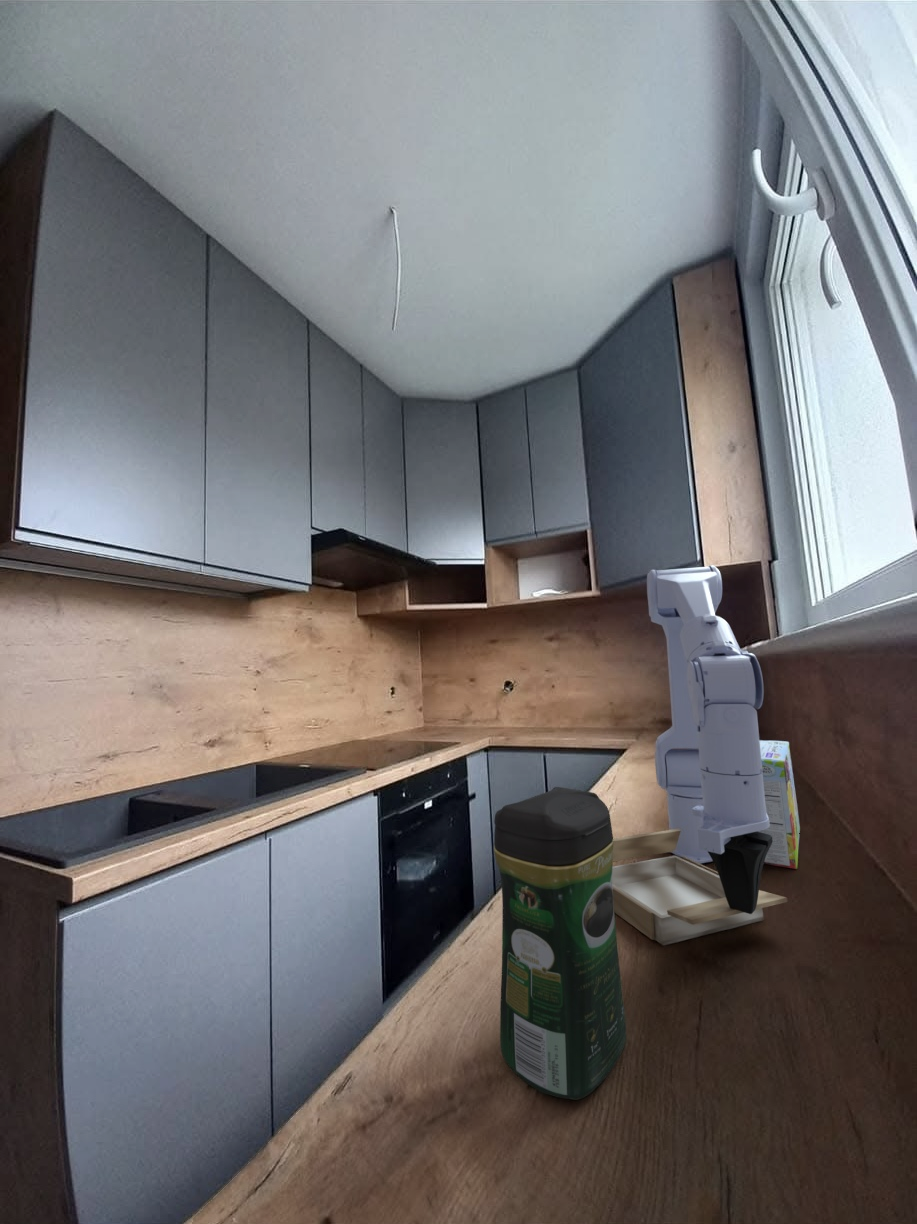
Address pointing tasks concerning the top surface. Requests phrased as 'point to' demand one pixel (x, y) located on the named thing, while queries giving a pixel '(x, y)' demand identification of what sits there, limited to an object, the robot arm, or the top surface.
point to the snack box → (780, 804)
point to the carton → (670, 898)
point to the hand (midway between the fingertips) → (742, 908)
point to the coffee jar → (559, 942)
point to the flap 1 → (645, 844)
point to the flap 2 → (719, 908)
